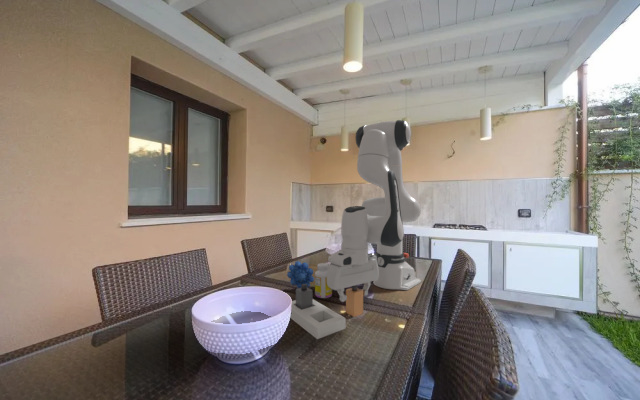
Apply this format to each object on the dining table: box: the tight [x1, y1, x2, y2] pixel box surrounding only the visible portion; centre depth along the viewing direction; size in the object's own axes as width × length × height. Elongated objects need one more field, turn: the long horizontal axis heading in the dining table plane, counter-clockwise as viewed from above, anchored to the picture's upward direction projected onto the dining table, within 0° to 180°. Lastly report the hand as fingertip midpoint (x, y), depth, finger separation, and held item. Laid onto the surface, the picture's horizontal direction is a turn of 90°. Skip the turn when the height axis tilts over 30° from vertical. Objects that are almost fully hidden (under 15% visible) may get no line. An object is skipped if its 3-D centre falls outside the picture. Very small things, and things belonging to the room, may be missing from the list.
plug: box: [345, 285, 364, 318], centre depth 86 cm, size 4×4×10 cm
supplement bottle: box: [314, 262, 333, 299], centre depth 102 cm, size 7×7×13 cm
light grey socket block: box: [290, 298, 347, 340], centre depth 81 cm, size 10×20×4 cm, turn 35°
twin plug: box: [295, 284, 314, 310], centre depth 85 cm, size 4×4×10 cm
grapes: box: [286, 260, 315, 289], centre depth 110 cm, size 12×7×12 cm, turn 104°
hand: (354, 297), depth 86 cm, fingers open, 8 cm apart
